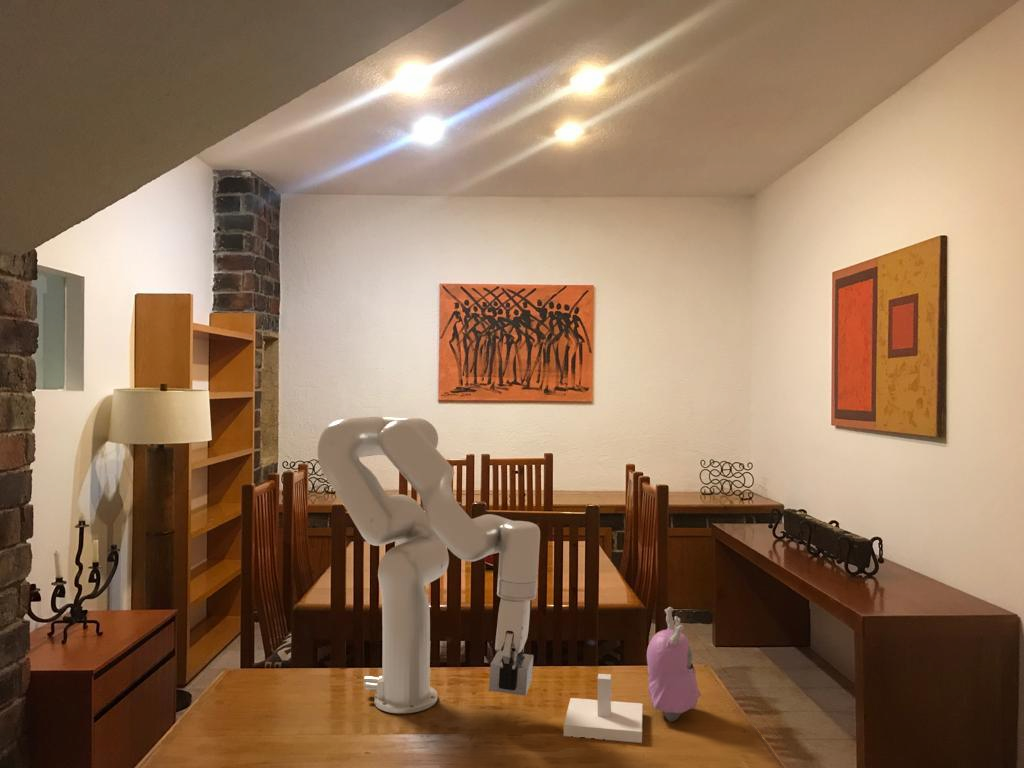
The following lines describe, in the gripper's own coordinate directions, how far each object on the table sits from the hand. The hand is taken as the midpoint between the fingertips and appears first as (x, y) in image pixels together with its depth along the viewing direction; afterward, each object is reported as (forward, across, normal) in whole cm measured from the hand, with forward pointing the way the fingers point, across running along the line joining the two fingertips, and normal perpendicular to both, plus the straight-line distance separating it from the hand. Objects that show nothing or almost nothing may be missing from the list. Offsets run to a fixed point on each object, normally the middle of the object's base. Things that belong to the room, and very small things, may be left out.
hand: (511, 679), depth 139 cm
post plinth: (+7, -2, +18) cm, 19 cm away
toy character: (+6, -9, +31) cm, 33 cm away
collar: (+1, 0, 0) cm, 1 cm away
